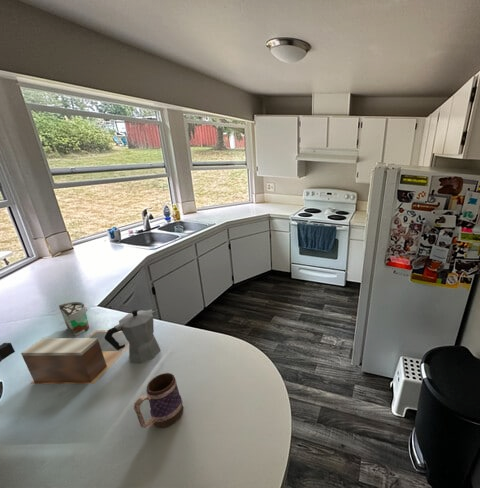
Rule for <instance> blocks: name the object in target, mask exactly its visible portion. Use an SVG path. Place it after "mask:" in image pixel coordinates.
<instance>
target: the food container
mask: <svg viewBox="0 0 480 488" xmlns="http://www.w3.org/2000/svg"><path fill="white" fill-rule="evenodd" d="M58 308H59V310H60V313H61V315H62V318H63V320H64V323H65V325H66V328H67V329H68V331H69V332H71V333H72V334H73V335H74V337H76V336H79V335H81V334H83V333H84V332H88V331H89V330H90V325H89V319H88V315H87V312H88V310H89V309H88V307H87V305H86V304H85V303H84V302H80V301H72V302H66V303H62V304H59V305H58Z"/></svg>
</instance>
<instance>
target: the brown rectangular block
mask: <svg viewBox="0 0 480 488" xmlns="http://www.w3.org/2000/svg"><path fill="white" fill-rule="evenodd" d="M20 354H21V357H22V359H23V361H24V363H25V366H26V368H27V370H28V371H29V374H30V377H31V378H32V381H34V382H35V383H38V382H92V381H93V380H94V379H95V378H96V377H97V375H98V374H99V373H100V372H101V371H102V370H103V369H104V368H105V367H106V366H107V365H106V362H105V359H104V356H103V353H102V350H101V347H100V344H99V341H98V338H87V337H75V338H73V337H72V338H71V337H69V338H68V337H67V338H66V337H64V338H63V337H60V338H59V337H58V338H57V337H55V338H54V337H52V338H50V337H46V338H45V337H43V338H41V339H39V340H38V341H36V342H35V343H34V344H32V345H30V346H29V347H27V348H25V349H24V350H23V351H21V352H20Z"/></svg>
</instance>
